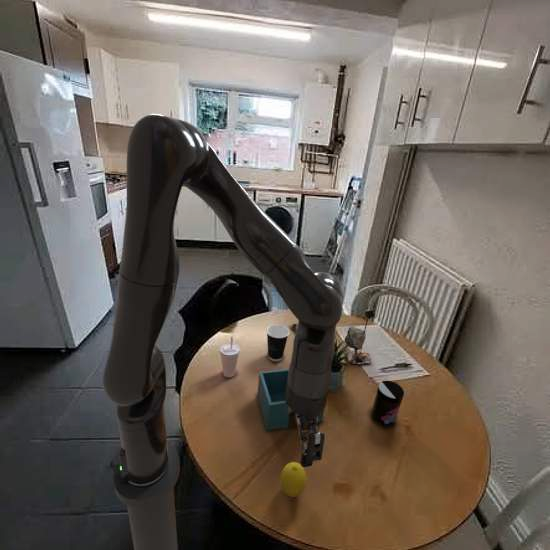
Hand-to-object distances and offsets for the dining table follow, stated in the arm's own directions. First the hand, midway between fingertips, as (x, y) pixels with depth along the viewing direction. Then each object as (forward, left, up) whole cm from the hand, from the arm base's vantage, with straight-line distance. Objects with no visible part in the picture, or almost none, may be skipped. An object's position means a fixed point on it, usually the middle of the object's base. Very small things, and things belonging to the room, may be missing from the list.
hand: (299, 444), depth 62 cm
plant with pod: (+37, +40, -15) cm, 57 cm away
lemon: (0, 0, -15) cm, 15 cm away
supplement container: (+32, +14, -15) cm, 38 cm away
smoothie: (-9, +39, -15) cm, 43 cm away
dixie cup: (+8, +45, -15) cm, 48 cm away
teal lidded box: (+6, +22, -14) cm, 27 cm away
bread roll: (+24, +59, -15) cm, 66 cm away
